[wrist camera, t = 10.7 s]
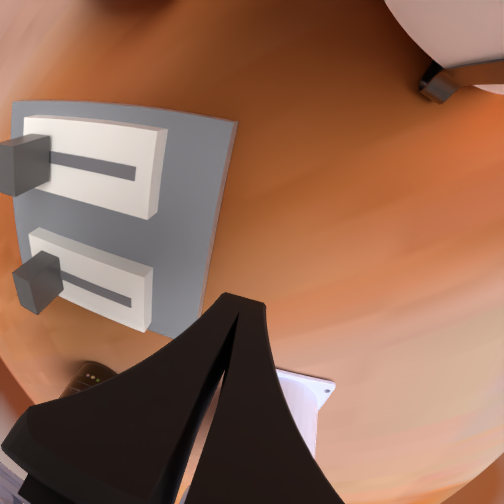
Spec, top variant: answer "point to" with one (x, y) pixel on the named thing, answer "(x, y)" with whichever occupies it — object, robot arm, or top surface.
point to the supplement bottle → (88, 378)
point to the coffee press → (456, 43)
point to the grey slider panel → (122, 210)
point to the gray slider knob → (24, 163)
